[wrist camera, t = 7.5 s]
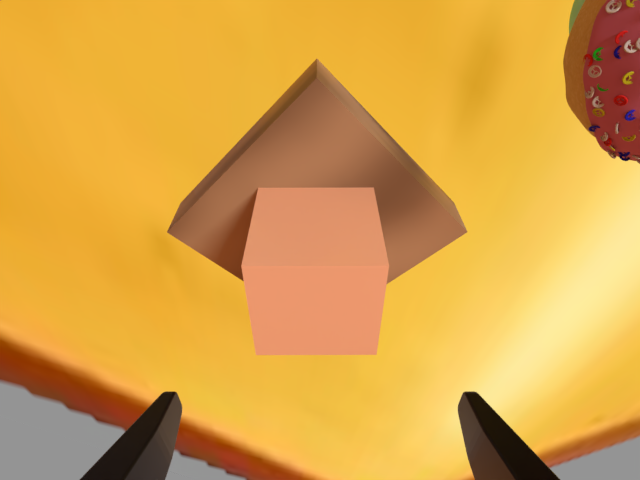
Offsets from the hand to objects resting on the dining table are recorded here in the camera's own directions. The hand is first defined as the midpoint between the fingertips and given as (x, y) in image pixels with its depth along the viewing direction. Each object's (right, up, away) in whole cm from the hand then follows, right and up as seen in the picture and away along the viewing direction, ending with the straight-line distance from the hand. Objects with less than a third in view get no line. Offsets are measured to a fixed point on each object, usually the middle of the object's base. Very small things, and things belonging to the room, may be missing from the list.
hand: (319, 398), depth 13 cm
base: (0, +7, +8) cm, 11 cm away
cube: (0, +5, +6) cm, 8 cm away
